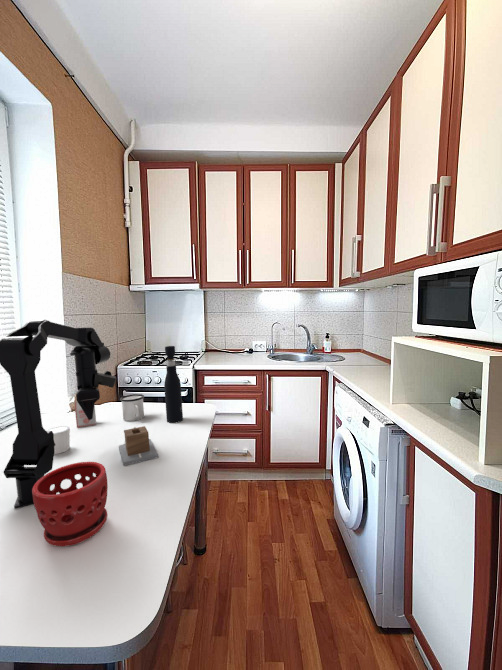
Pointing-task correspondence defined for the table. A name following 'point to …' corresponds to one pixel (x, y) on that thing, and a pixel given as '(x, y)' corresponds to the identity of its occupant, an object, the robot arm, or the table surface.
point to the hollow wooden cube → (136, 440)
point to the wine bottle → (172, 389)
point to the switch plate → (137, 457)
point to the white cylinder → (61, 438)
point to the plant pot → (71, 503)
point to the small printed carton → (83, 417)
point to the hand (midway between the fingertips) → (90, 415)
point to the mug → (132, 407)
